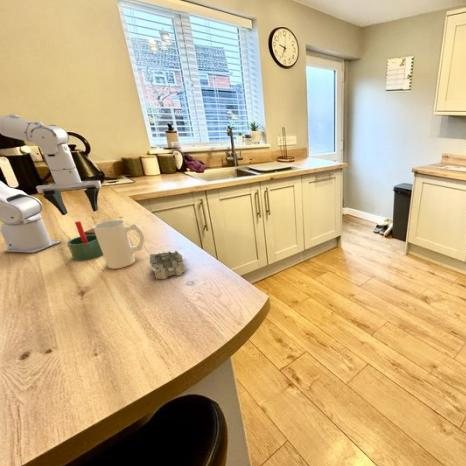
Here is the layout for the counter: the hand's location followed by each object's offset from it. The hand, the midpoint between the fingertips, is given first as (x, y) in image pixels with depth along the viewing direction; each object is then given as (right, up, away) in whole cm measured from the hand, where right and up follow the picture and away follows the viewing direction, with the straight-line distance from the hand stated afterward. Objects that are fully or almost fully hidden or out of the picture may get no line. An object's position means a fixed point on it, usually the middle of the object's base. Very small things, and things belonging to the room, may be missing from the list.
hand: (80, 212), depth 90 cm
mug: (+21, -15, -8) cm, 27 cm away
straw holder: (+1, -8, +8) cm, 12 cm away
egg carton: (+35, -17, -12) cm, 41 cm away
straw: (+7, -13, -4) cm, 15 cm away
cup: (+7, -13, -4) cm, 15 cm away
